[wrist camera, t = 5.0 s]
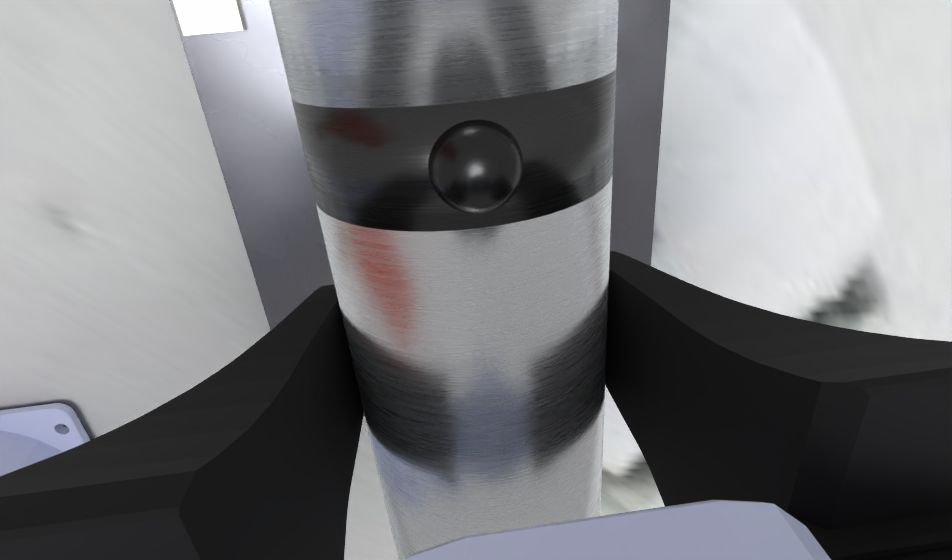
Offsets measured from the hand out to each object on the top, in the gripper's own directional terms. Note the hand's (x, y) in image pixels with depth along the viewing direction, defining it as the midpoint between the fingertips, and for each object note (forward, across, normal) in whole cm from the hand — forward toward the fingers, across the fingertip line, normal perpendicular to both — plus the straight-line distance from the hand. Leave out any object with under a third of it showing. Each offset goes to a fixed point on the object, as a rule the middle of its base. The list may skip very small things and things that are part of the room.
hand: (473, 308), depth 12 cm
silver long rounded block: (+2, 0, 0) cm, 2 cm away
